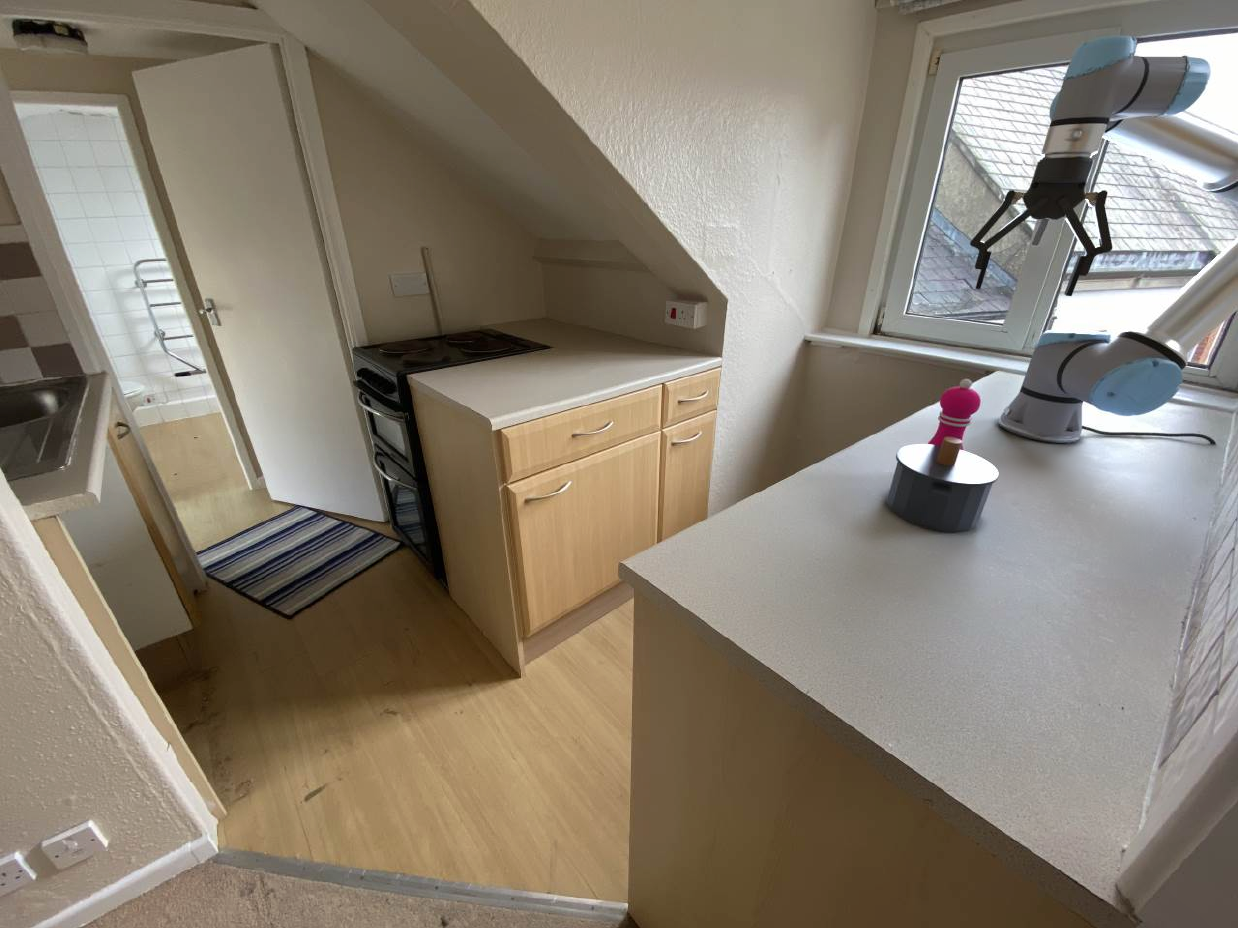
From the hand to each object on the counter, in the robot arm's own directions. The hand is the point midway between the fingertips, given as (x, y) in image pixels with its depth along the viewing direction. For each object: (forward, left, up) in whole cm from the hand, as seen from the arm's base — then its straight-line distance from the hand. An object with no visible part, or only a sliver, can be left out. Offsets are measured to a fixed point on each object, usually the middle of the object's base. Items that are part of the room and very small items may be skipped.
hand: (1021, 291), depth 96 cm
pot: (+5, +30, -33) cm, 45 cm away
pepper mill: (+5, +18, -33) cm, 38 cm away
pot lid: (+5, +30, -24) cm, 39 cm away
